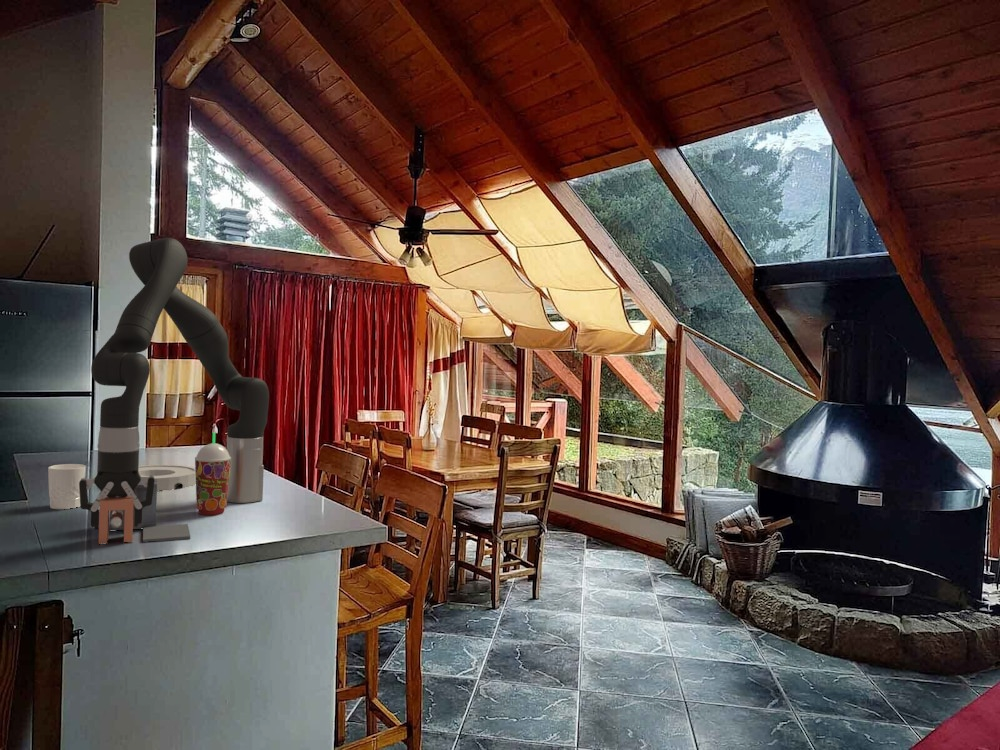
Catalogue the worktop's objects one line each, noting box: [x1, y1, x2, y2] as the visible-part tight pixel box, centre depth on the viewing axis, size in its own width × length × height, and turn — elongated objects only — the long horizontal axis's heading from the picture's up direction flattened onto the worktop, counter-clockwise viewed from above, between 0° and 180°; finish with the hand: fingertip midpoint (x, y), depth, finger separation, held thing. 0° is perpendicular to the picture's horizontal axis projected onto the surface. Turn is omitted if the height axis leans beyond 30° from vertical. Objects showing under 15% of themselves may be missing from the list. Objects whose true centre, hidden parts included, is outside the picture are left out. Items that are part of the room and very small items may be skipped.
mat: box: [142, 523, 191, 543], centre depth 149 cm, size 9×11×1 cm
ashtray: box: [138, 464, 196, 492], centre depth 202 cm, size 23×23×4 cm
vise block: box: [109, 479, 158, 531], centre depth 149 cm, size 18×9×13 cm, turn 27°
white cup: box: [47, 463, 87, 510], centre depth 170 cm, size 8×8×10 cm
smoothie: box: [194, 432, 231, 516], centre depth 170 cm, size 8×8×20 cm
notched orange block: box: [98, 496, 134, 545], centre depth 143 cm, size 6×6×9 cm
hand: (116, 527), depth 143 cm, fingers open, 6 cm apart
